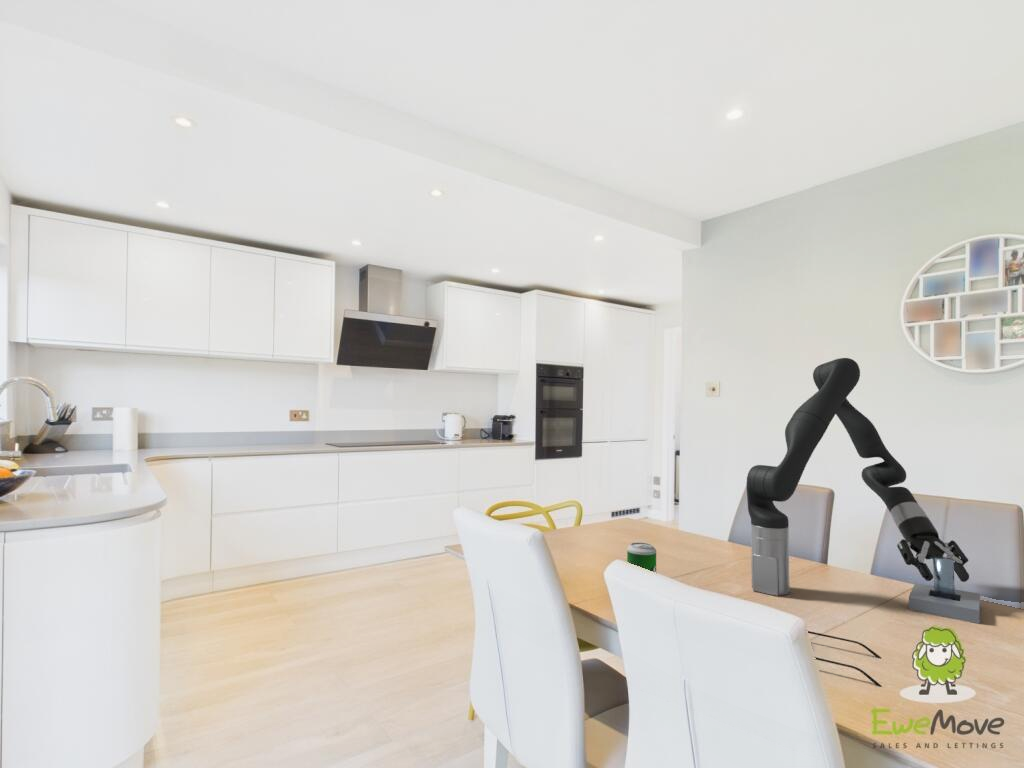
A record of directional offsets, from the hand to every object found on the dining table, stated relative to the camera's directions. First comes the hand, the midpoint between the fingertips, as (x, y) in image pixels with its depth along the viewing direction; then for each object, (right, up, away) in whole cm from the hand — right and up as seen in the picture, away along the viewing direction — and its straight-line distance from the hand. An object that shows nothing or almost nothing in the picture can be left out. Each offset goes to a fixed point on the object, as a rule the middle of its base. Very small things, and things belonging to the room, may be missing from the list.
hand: (948, 579), depth 132 cm
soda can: (-73, -7, +11) cm, 74 cm away
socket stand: (0, -7, +1) cm, 7 cm away
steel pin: (0, -7, +1) cm, 7 cm away
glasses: (-46, -6, -29) cm, 55 cm away
